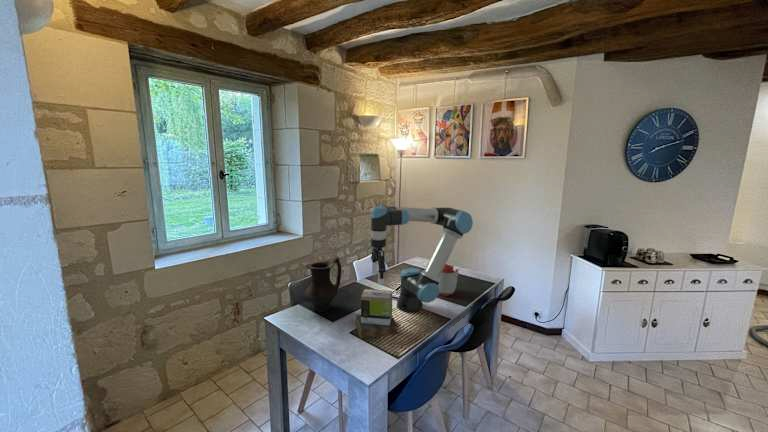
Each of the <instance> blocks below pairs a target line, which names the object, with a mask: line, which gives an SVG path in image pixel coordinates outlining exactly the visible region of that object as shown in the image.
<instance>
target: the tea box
mask: <svg viewBox="0 0 768 432" xmlns="http://www.w3.org/2000/svg"><path fill="white" fill-rule="evenodd" d="M360 315H361V323H367V324H379V325H389V326H390V322H391V318H392V316H393V290H386V289H384V290H383V289H382V290H381V289H372V288H371V289H369V288H364V289H363V292H362V293H361V296H360Z"/></svg>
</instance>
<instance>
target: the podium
mask: <svg viewBox="0 0 768 432" xmlns="http://www.w3.org/2000/svg"><path fill="white" fill-rule="evenodd" d="M355 326H356V328H357V332H358V335H359V338H360V339H368V338H375V337H376V338H377V337H384V336H385V337H386V336H392V335H393V336H394V335H398V334H399V326H398V324H397V322H396V320H395V318H394V316H393V315H392V318H391V322H390V326H389V325H379V324H367V323H361V314H358V315H355Z"/></svg>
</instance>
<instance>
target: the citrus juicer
mask: <svg viewBox="0 0 768 432" xmlns="http://www.w3.org/2000/svg"><path fill="white" fill-rule="evenodd" d="M458 276H460V274H459V269H455V270H454V266H453V265H451V264H447V263H446V264H445V266H444V268H443V270H442V272H441V274H440V276H439V281H440V283H439V285H438V287H439V295H438V296H441V295H443V296H442V297H450V296H449V295H451V296H453V295H454V293H455V291H456V288H457V284H458ZM452 294H453V295H452Z"/></svg>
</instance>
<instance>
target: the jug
mask: <svg viewBox="0 0 768 432" xmlns="http://www.w3.org/2000/svg"><path fill="white" fill-rule="evenodd" d="M335 265H337V273H336V282H335V283H334V284H333V283H332V281H331V270H332V268H333V267H334V266H335ZM305 267H306V269H309V270H310V273H311V283H310V285H309V286H308V287H307V288H306V289H305V292H304V296H305V298H306V299H307V300H308V301H309V302H310V303H311V310H312V311H314V312H318V313H322V312H327V311H329V310H330V309H331V308H332V305H331V303H332V301H333V300H334V299H335V298H336V297H337V295H338V289H339V288H340V285H341V280H342V279H341V278H342V265H341V262H340V258H339V256H336V257H334V259H332V260H327V259H326V260H324V259H322V260H320V259H319V260H314V261H311V262H308V263H307V264H306V265H305Z"/></svg>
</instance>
